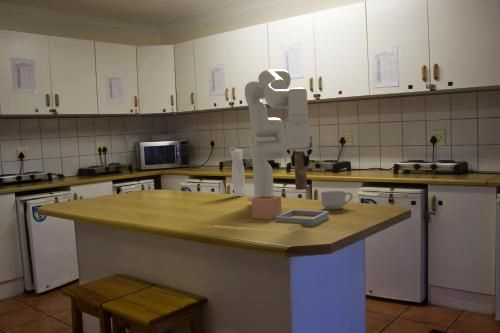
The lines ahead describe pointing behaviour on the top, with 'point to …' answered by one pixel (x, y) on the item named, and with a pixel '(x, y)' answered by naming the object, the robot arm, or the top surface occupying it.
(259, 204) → the pink cube box
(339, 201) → the teacup
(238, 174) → the skyscraper
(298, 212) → the tray
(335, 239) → the top surface
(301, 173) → the dowel pin
